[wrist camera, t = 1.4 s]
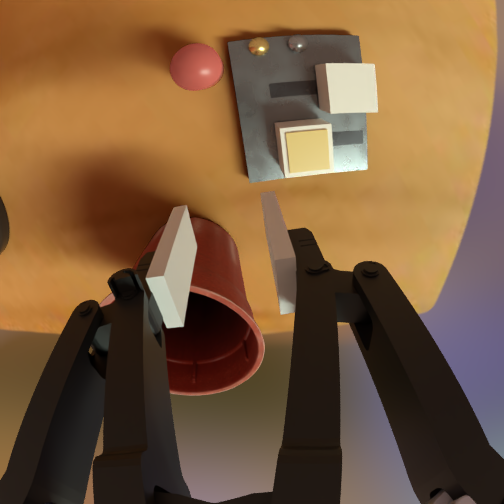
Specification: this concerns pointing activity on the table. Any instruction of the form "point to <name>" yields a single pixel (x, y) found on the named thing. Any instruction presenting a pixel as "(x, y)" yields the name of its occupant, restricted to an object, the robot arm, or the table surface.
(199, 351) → the flower pot
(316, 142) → the block
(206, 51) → the lockout cap
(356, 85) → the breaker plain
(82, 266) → the table surface
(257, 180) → the panel
